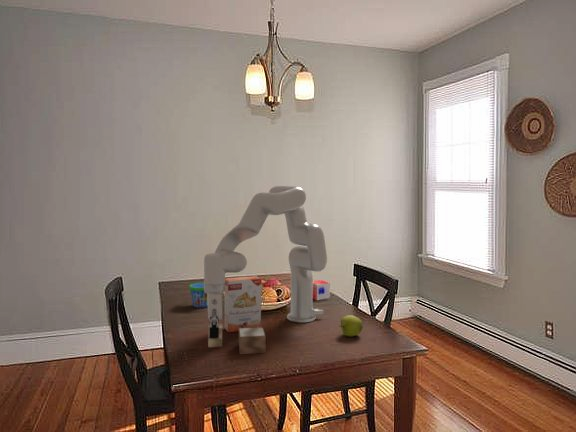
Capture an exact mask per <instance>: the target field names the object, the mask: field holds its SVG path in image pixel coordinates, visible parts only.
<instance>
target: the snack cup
mask: <svg viewBox="0 0 576 432" xmlns="http://www.w3.org/2000/svg"><path fill="white" fill-rule="evenodd" d="M188 290H189V291H190V297H191V302H192V306H193V307H194V308H197V309H199V308H200V309H201V308H202V309H203V308H208V305H207V293H205V292H204V282H195V283H191V284H190V285H189V286H188Z"/></svg>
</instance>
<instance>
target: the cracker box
mask: <svg viewBox="0 0 576 432" xmlns="http://www.w3.org/2000/svg"><path fill="white" fill-rule="evenodd" d="M261 321H262V278H260V277H259V276H257V275H254V276H253V275H252V276H241V277H240V276H239V277H227V278H226V277H225V292H224V329H225V330H226V332H227V333H235V332H239V328H259V327H262V326H261V325H262V322H261Z"/></svg>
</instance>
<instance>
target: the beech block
mask: <svg viewBox="0 0 576 432" xmlns="http://www.w3.org/2000/svg"><path fill="white" fill-rule="evenodd" d="M207 325H208V327H207V343H208V344H207V345H208V348H219V347H220V348H222V347H223V324H222V323H219V324H218V327H219V338H210V323H208V324H207ZM216 327H217V324H216Z"/></svg>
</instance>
